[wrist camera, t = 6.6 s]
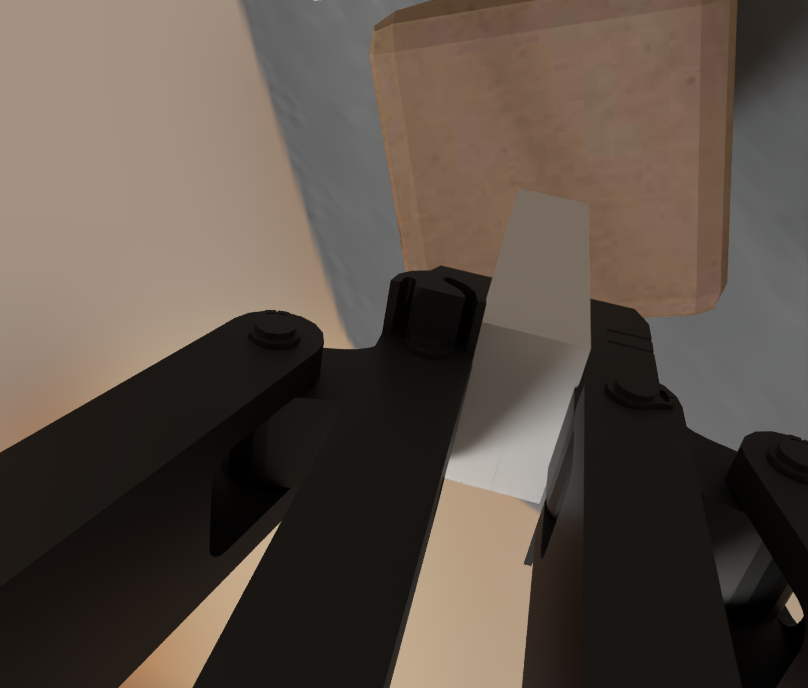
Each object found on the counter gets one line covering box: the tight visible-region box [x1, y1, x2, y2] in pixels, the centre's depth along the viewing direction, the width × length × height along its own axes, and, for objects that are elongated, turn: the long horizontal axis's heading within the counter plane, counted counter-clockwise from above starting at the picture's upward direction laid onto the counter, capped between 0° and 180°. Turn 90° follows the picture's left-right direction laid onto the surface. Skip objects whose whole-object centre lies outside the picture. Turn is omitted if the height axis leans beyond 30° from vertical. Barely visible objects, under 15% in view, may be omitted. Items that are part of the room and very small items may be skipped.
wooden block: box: [369, 0, 737, 318], centre depth 30 cm, size 10×10×20 cm
